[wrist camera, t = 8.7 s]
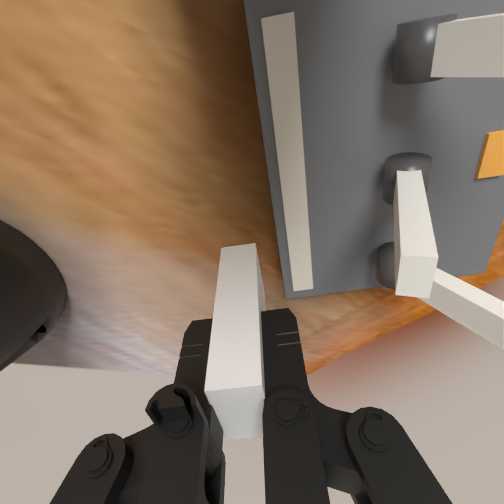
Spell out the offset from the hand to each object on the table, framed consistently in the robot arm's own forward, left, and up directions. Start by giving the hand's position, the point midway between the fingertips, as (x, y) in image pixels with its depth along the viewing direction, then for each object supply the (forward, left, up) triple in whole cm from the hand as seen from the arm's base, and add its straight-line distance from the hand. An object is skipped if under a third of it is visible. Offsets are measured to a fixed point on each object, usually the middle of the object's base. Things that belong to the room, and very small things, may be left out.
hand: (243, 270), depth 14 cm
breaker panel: (+10, 0, -11) cm, 15 cm away
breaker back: (+9, -6, -7) cm, 14 cm away
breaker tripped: (+10, 0, -8) cm, 13 cm away
